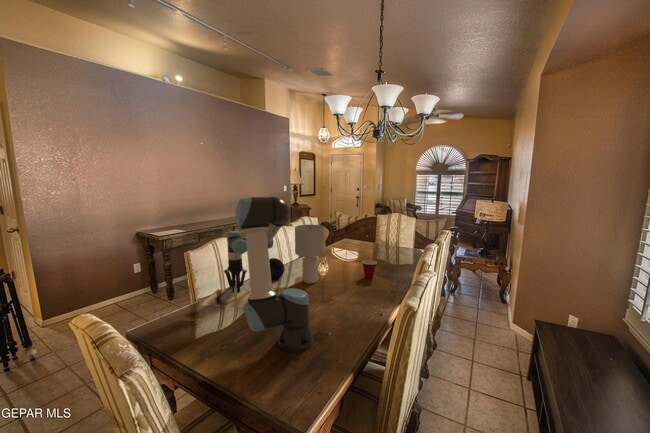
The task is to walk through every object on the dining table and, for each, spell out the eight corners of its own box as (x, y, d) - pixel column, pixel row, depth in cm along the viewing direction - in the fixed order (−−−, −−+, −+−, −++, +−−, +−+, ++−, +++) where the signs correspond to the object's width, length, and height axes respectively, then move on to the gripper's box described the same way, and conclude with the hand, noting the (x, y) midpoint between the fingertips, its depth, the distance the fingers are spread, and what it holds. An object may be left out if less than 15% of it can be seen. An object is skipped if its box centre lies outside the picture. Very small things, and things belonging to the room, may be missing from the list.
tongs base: (231, 291, 174) (231, 282, 173) (235, 291, 174) (235, 283, 173) (214, 304, 156) (214, 295, 155) (219, 305, 155) (218, 295, 155)
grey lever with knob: (230, 290, 175) (230, 280, 174) (238, 290, 175) (237, 280, 174) (214, 304, 156) (214, 293, 155) (222, 304, 155) (222, 293, 154)
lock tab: (219, 293, 161) (219, 289, 160) (222, 293, 160) (222, 289, 160) (216, 295, 158) (216, 291, 157) (219, 295, 157) (219, 291, 157)
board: (258, 293, 174) (258, 291, 174) (245, 309, 153) (245, 307, 153) (218, 291, 177) (217, 289, 177) (199, 307, 155) (199, 305, 155)
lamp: (330, 283, 192) (331, 226, 186) (304, 289, 180) (304, 230, 175) (314, 274, 208) (314, 222, 203) (290, 279, 197) (289, 225, 191)
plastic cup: (376, 275, 206) (377, 260, 205) (376, 281, 196) (376, 264, 194) (362, 274, 209) (362, 258, 207) (360, 279, 199) (360, 263, 197)
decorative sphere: (269, 285, 187) (269, 263, 185) (258, 278, 198) (258, 258, 196) (288, 279, 197) (288, 259, 195) (277, 274, 208) (276, 254, 206)
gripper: (248, 256, 163) (249, 295, 166) (226, 256, 164) (228, 294, 167) (243, 260, 155) (245, 301, 158) (221, 259, 156) (222, 300, 159)
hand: (236, 297), depth 163 cm, fingers closed
